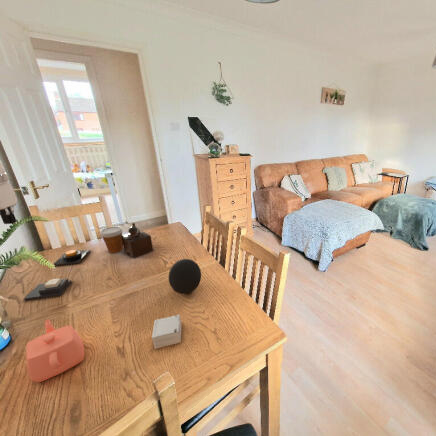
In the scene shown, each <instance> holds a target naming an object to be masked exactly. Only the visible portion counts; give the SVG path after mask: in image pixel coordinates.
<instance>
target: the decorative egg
mask: <svg viewBox="0 0 436 436" xmlns="http://www.w3.org/2000/svg"><path fill="white" fill-rule="evenodd" d="M201 280H202V270H201V268H200V266H199V264H198V263H197V262H196V261H194V260H192V259H190V258H183V259H179V260H177V261H175V263H174V264H173V265H172V266H171V267H170V269H169V271H168V283H169V286H170V287H171V289H172V290H173V291H174V292H176V293H178V294H180V295H181V294H182V295H188V294H191V293H192V292H194V291H195V290H196V289H198V287H199V286H200V283H201Z"/></svg>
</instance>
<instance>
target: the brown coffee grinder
mask: <svg viewBox="0 0 436 436" xmlns="http://www.w3.org/2000/svg"><path fill="white" fill-rule="evenodd" d="M121 239H122V243H123V252H124V253H125V254H126V255H127V256H129V257H131V258H133V259H135V258H137V257H142V256H143V255H146V254H148V253H151V252H153V251H154V247H153V241H152V236H151V234H148V233H147V232H145V231H143V230H140V229H139V228H138V227H137V226H136V223H135V222H133V223H131V227H128V233H127V234H124V235H122V236H121Z"/></svg>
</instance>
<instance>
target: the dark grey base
mask: <svg viewBox="0 0 436 436" xmlns="http://www.w3.org/2000/svg"><path fill="white" fill-rule="evenodd" d="M60 279H61V283H60V284H59V285H58V286H57V287H52V288H45V286H44V285H45V284H46V283H47V282H44V283H38V284H37V285H36V286H35V287H34V288H32V289H31V291H29V293H27V295H26V296H25V297H24V298H23V300H24V302H26V301H34V300H42V299H49V298H59V297H61V296H62V295H63V294H64V292H65V291H66V290H67V289H68V288H69V287H70V285H72V280H71V279H68V278H60Z"/></svg>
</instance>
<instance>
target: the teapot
mask: <svg viewBox="0 0 436 436" xmlns="http://www.w3.org/2000/svg"><path fill="white" fill-rule="evenodd" d="M44 326H45V333H44V334H41V335H39V336H37V337H35V338H33V339H31V340H30V341H28V342H27V344H26V350H25V351H26V353H25V355H26V367H27V372H28V377H29V378H30V380H31V381H33V382H34V383H41V382H44V381H46V380H48V379H50V378H53V377H56V376H57V375H60V374H62V373H64V372H66V371H68V370H69V369H71V368H73V367H75V366H76V365H78V364H80V363H81V362H82V361H83V360H84V359H85V347H84V343H83V340H82V338H81V336H80V334H79V332H77V330H76V329H75V328H74V327H73V326H71V325H65V326H62V327H59V328H55V327H54V326H53V323H52V321H51V320H50V319H46V320H45V321H44Z"/></svg>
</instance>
